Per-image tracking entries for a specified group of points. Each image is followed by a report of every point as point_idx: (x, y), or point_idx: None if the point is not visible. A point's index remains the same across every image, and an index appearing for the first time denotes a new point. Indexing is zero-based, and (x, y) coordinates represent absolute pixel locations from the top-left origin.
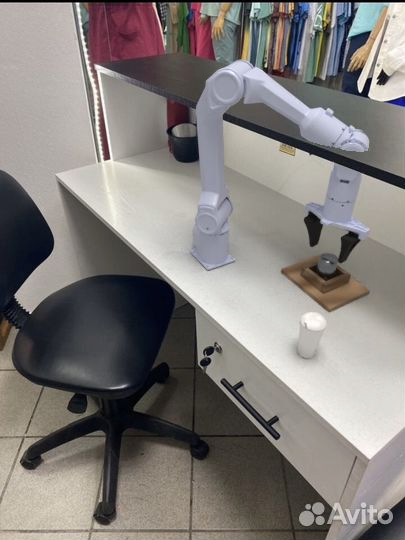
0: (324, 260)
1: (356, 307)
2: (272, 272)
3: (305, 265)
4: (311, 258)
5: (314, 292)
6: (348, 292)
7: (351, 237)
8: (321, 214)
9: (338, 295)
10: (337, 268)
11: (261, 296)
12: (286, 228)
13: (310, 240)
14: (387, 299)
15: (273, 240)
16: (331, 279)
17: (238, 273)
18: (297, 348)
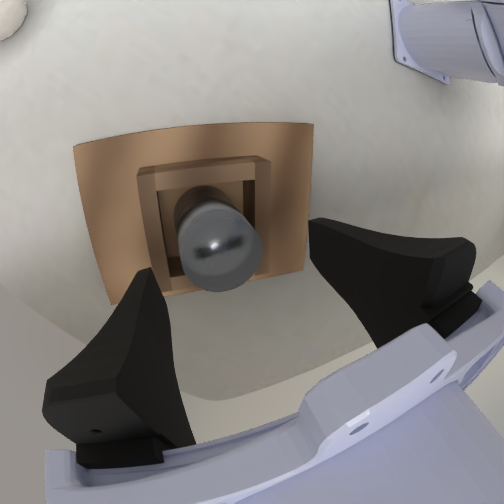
0: (218, 230)
1: (72, 236)
2: (318, 102)
3: (288, 204)
4: (303, 241)
5: (159, 143)
6: (118, 248)
7: (97, 433)
8: (460, 377)
9: (115, 211)
10: None
11: (242, 3)
12: None
13: (338, 225)
14: (86, 321)
15: (402, 203)
16: (158, 218)
17: (355, 28)
18: (25, 4)
